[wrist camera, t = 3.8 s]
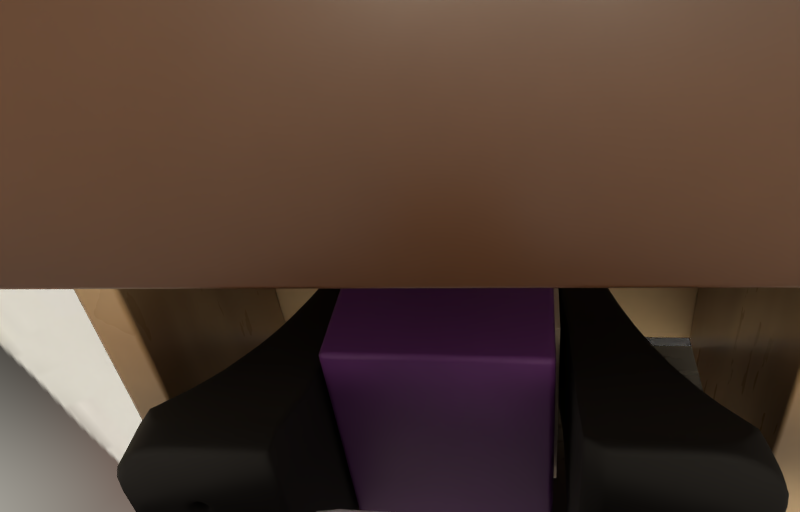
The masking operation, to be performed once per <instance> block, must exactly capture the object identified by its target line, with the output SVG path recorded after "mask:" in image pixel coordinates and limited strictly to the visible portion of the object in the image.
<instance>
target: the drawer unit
mask: <svg viewBox="0 0 800 512" xmlns="http://www.w3.org/2000/svg"><path fill="white" fill-rule="evenodd" d="M343 288H800V0H0V289H343Z"/></svg>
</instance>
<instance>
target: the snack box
mask: <svg viewBox="0 0 800 512" xmlns="http://www.w3.org/2000/svg"><path fill="white" fill-rule="evenodd" d="M319 359H320V363H321V366H322V370H323V374H324V378H325V381H326V385H327V389H328V393H329V396H330V400H331V404H332V408H333V411H334V415H335V419H336V423H337V426H338V430H339V434H340V438H341V441H342V445H343V449H344V453H345V456H346V460H347V464H348V468H349V471H350V475H351V479H352V483H353V486H354V490H355V494H356V498H357V502H358V505H359V509H360V510H364V511H381V512H553V481H554V478H556V473H557V435H558V397H559V359H560V312H559V290H558V288H343V289H340V292H339V295H338V298H337V301H336V304H335V307H334V310H333V313H332V316H331V319H330V322H329V325H328V328H327V331H326V334H325V337H324V340H323V343H322V346H321V349H320V352H319Z"/></svg>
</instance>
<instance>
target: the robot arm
mask: <svg viewBox="0 0 800 512" xmlns="http://www.w3.org/2000/svg"><path fill="white" fill-rule="evenodd" d="M558 290H559V312H560V359H559V397H558V403H559V410H560V417H561V424H562V431H563V441H564V455H565V478H566V502H567V512H786V509H787V507H788V499H789V492H788V489H787V485H786V482H785V479H784V476H783V473H782V471H781V469H780V467H779V464H778V462H777V460H776V458H775V456H774V455H773V453H772V451H771V449H770V447H769V445H768V443H767V442H766V440H765V438H764V436H763V435H762V433H761V431H760V430H759V429H758V428H757V427H755V426H754V425H752V424H751V423H749V422H747V421H746V420H744V419H743V418H741V417H740V416H738V415H736V414H735V413H733V412H732V411H730V410H729V409H727V408H725V407H724V406H722V405H721V404H719V403H718V402H716V401H715V400H714V399H712V398H711V397H710V396H708V395H707V394H706V393H704V392H703V391H702V390H700V389H699V388H698V387H697V386H696V385H694V384H693V383H692V382H691V381H690V380H689V379H687V378H686V377H685V376H684V375H683V374H682V373H680V372H679V371H678V370H677V369H676V368H675V367H674V366H672V365H671V364H670V363H669V362H668V361H667V360H666V359H665V358H664V357H663V356H662V355H661V354H660V353H659V352H658V351H657V350H656V349H655V348H654V346H653V345H652V344H651V343H650V342H649V341H648V340H647V339H646V338H645V337H644V335H643V334H642V333H641V332H640V331H639V330H638V328H637V327H636V326H635V325H634V324H633V322H632V321H631V320H630V318H629V317H628V316H627V314H626V313H625V312H624V311H623V309H622V308H621V306H620V305H619V304H618V302H617V301H616V299H615V298H614V296H613V295H612V293H611V292H610V290H609V289H608V288H558ZM339 292H340V289H318V290H317V291H316V292H315V293H314V294H313V295H312V297H311V298H310V299H309V300H308V301H307V302H306V303H305V304H304V305H303V306H302V307H301V308H300V309H299V310H298V311H297V312H296V313H295V314H294V315H293V316H292V317H291V318H290V319H289V320H288V321H287V322H286V323H285V324H284V325H283V326H281V327H280V328H279V329H278V330H277V331H276V332H275V333H273V334H272V335H271V336H270V337H269V338H267V339H266V340H265V341H264V342H262V343H261V344H260V345H259V346H257V347H256V348H254V349H253V350H252V351H250V352H249V353H247V354H246V355H245V356H243V357H242V358H240V359H239V360H237V361H236V362H235V363H233V364H232V365H230V366H229V367H227V368H226V369H224V370H223V371H221V372H219V373H218V374H216V375H214V376H213V377H211V378H209V379H208V380H206V381H204V382H202V383H201V384H199V385H197V386H195V387H193V388H192V389H190V390H188V391H186V392H184V393H182V394H180V395H178V396H176V397H174V398H172V399H169V400H167V401H165V402H163V403H161V404H159V405H157V406H155V407H153V408H150V409H149V411H148V412H147V414H146V416H145V417H144V419H143V420H142V422H141V424H140V425H139V427H138V429H137V431H136V433H135V435H134V437H133V438H132V440H131V442H130V444H129V446H128V448H127V450H126V452H125V454H124V455H123V457H122V459H121V461H120V463H119V465H118V469H117V477H118V480H119V482H120V485H121V487H122V489H123V491H124V493H125V494H126V496H127V498H128V499H129V501H130V503H131V504H132V506H133V507H134V509H135V511H136V512H381V511H364V510H358V502H357V498H356V494H355V490H354V486H353V483H352V479H351V475H350V471H349V468H348V464H347V460H346V456H345V453H344V449H343V445H342V441H341V438H340V434H339V430H338V426H337V423H336V419H335V415H334V411H333V408H332V404H331V400H330V396H329V393H328V389H327V385H326V381H325V378H324V374H323V370H322V366H321V363H320V359H319V352H320V349H321V346H322V343H323V340H324V337H325V334H326V331H327V328H328V325H329V322H330V319H331V316H332V313H333V310H334V307H335V304H336V301H337V298H338V295H339Z"/></svg>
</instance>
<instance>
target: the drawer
mask: <svg viewBox="0 0 800 512" xmlns="http://www.w3.org/2000/svg"><path fill="white" fill-rule="evenodd" d="M608 289H609V290H610V292H611V293H612V295H613V296H614V298H615V299H616V301H617V302H618V304H619V305H620V306H621V308H622V309H623V311H624V312H625V313H626V314H627V316H628V317H629V318H630V320H631V321H632V322H633V324H634V325H635V326H636V327H637V328H638V330H639V331H640V332H641V333H642V334H643V335H644V337H670V338H689V339H690V343H691V346H654V348H655V349H656V350H657V351H658V352H659V353H660V354H661V355H662V356H663V357H664V358H665V359H666V360H667V361H668V362H669V363H670V364H671V365H672V366H674V367H675V368H676V369H677V370H678V371H679V372H680V373H682V374H683V375H684V376H685V377H686V378H687V379H689V380H690V381H691V382H692V383H693V384H694V385H696V386H697V387H698V388H699V389H700V390H702V391H703V392H704V393H706V394H707V395H708V396H710V397H711V398H712V399H714V400H715V401H716V402H718V403H719V404H721V405H722V406H724V407H725V408H727V409H729V410H730V411H732V412H733V413H735V414H736V415H738V416H740V417H741V418H743V419H744V420H746V421H747V422H749V423H751V424H752V425H754V426H755V427H757V428H758V429H759V430H760V431H761V433H762V435H763V436H764V438H765V440H766V442H767V443H768V445H769V447H770V449H771V451H772V453H773V455H774V456H775V458H776V460H777V462H778V464H779V467H780V469H781V471H782V473H783V476H784V479H785V482H786V485H787V489H788V492H789V499H788V507H787V509H786V512H800V288H608ZM74 290H75V292H76V294H77V296H78V298H79V300H80V302H81V304H82V306H83V308H84V310H85V311H86V313H87V315H88V317H89V319H90V321H91V323H92V325H93V327H94V329H95V331H96V332H97V334H98V336H99V338H100V340H101V342H102V344H103V346H104V348H105V350H106V352H107V353H108V355H109V357H110V359H111V361H112V363H113V365H114V367H115V369H116V371H117V373H118V374H119V376H120V378H121V380H122V382H123V384H124V386H125V388H126V390H127V392H128V393H129V395H130V397H131V399H132V401H133V403H134V405H135V407H136V409H137V411H138V413H139V414H140V416H141V418H142V420H143V419H144V417H145V416H146V414H147V412H148V411H149V409H150V408H153V407H155V406H157V405H159V404H161V403H163V402H165V401H167V400H169V399H172V398H174V397H176V396H178V395H180V394H182V393H184V392H186V391H188V390H190V389H192V388H193V387H195V386H197V385H199V384H201V383H202V382H204V381H206V380H208V379H209V378H211V377H213V376H214V375H216V374H218V373H219V372H221V371H223V370H224V369H226V368H227V367H229V366H230V365H232V364H233V363H235V362H236V361H237V360H239V359H240V358H242V357H243V356H245V355H246V354H247V353H249V352H250V351H252V350H253V349H254V348H256V347H257V346H259V345H260V344H261V343H262V342H264V341H265V340H266V339H267V338H269V337H270V336H271V335H272V334H273V333H275V332H276V331H277V330H278V329H279V328H280V327H281V326H283V325H284V324H285V323H286V322H287V321H288V320H289V319H290V318H291V317H292V316H293V315H294V314H295V313H296V312H297V311H298V310H299V309H300V308H301V307H302V306H303V305H304V304H305V303H306V302H307V301H308V300H309V299H310V298H311V297H312V295H313V294H314V293H315V292H316V291H317V290H318V289H74ZM358 510H360V509H359V505H358ZM553 512H567V502H566V478H565V455H564V441H563V431H562V424H561V417H560V410H559V403H558V435H557V473H556V478H554V481H553Z"/></svg>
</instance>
